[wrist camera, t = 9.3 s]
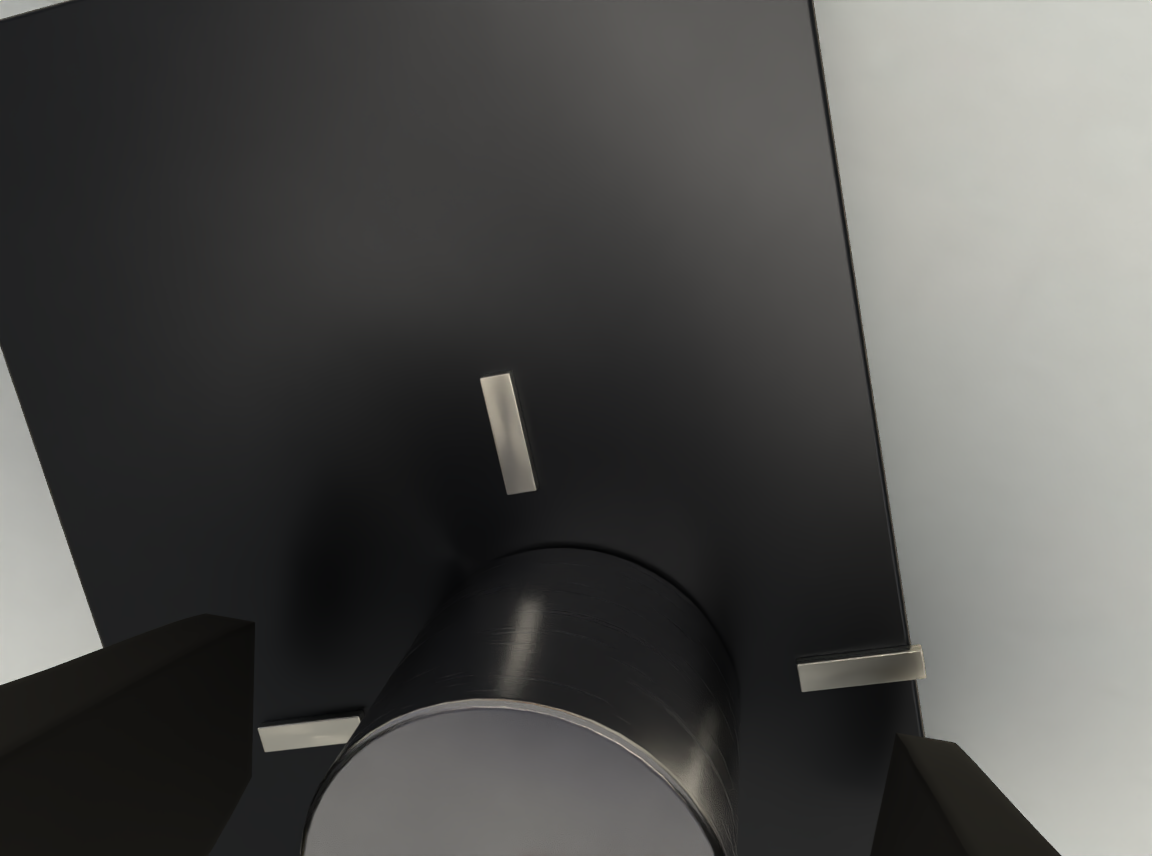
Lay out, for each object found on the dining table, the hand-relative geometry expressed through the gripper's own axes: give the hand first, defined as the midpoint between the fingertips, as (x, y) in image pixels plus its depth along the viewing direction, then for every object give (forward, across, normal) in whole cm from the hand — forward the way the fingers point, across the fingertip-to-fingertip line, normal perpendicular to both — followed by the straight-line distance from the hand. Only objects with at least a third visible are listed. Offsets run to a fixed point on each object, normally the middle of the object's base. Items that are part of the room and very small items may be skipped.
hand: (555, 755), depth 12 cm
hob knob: (+1, 0, 0) cm, 1 cm away
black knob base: (+4, +2, -2) cm, 5 cm away
